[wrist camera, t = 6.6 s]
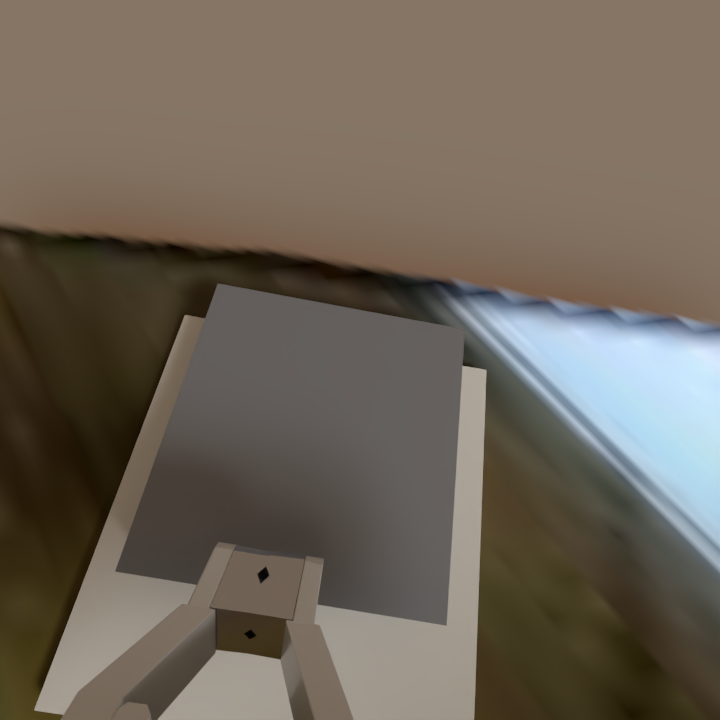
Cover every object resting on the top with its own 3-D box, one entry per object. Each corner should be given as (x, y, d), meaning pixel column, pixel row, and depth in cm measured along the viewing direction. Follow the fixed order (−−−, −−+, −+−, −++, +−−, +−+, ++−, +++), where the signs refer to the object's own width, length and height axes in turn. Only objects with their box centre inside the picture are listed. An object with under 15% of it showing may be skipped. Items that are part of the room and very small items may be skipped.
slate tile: (446, 625, 12) (464, 329, 16) (115, 571, 12) (217, 283, 16) (431, 606, 14) (450, 344, 18) (143, 559, 14) (229, 303, 18)
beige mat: (465, 764, 13) (472, 776, 13) (47, 700, 13) (34, 710, 12) (481, 373, 19) (486, 370, 18) (189, 319, 18) (184, 314, 18)
